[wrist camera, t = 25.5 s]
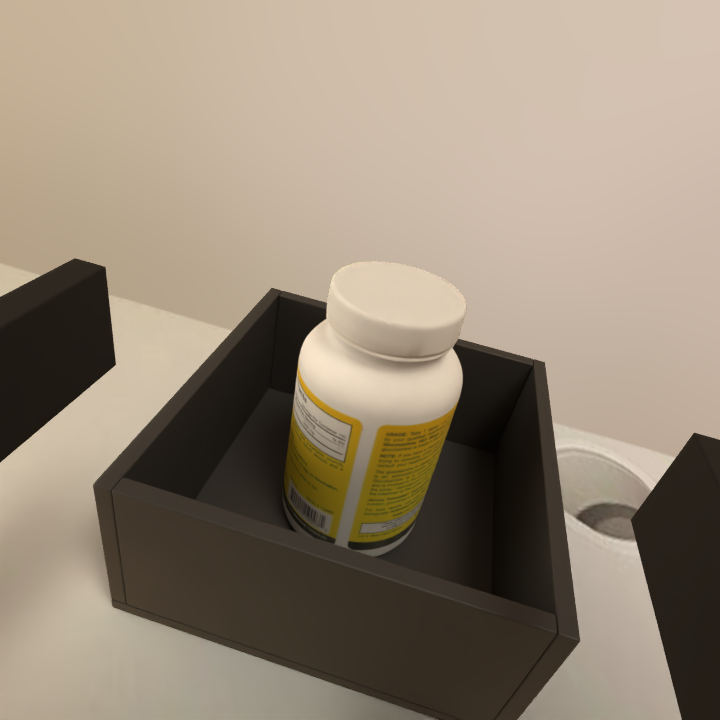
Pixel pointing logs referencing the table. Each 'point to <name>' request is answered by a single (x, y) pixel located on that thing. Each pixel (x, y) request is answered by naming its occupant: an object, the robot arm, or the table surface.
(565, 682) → the table surface
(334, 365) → the pill bottle
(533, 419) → the basket
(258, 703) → the table surface
